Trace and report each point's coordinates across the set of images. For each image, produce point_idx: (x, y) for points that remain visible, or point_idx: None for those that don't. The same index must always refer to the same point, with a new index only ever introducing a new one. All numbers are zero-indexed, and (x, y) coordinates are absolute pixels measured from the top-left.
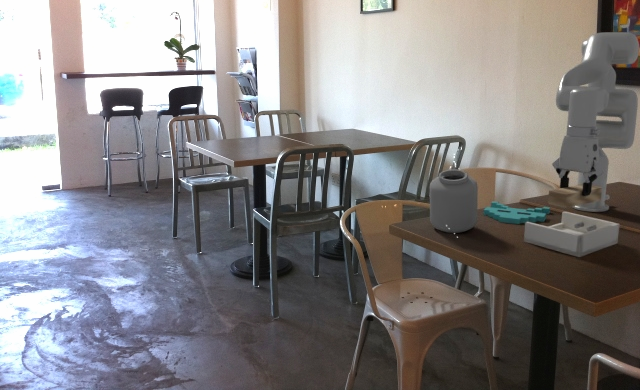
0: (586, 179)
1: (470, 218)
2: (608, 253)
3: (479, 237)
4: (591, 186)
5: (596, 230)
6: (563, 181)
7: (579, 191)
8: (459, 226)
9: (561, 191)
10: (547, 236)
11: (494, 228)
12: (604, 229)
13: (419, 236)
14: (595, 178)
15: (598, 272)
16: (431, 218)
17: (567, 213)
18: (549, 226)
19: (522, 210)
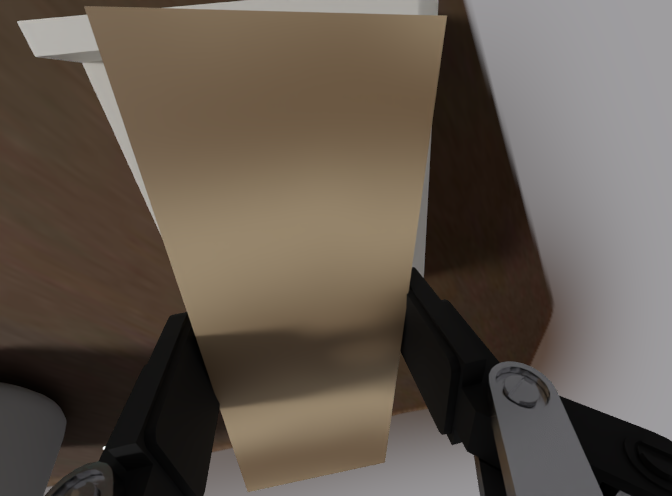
0: (498, 474)
1: (40, 447)
2: (431, 170)
3: (121, 384)
4: (476, 339)
5: (419, 214)
6: (206, 471)
7: (387, 372)
8: (61, 443)
9: (312, 454)
10: None
11: (9, 304)
12: (428, 161)
13: None
14: (600, 428)
15: (475, 304)
16: None
17: (83, 52)
18: (142, 186)
19: None
